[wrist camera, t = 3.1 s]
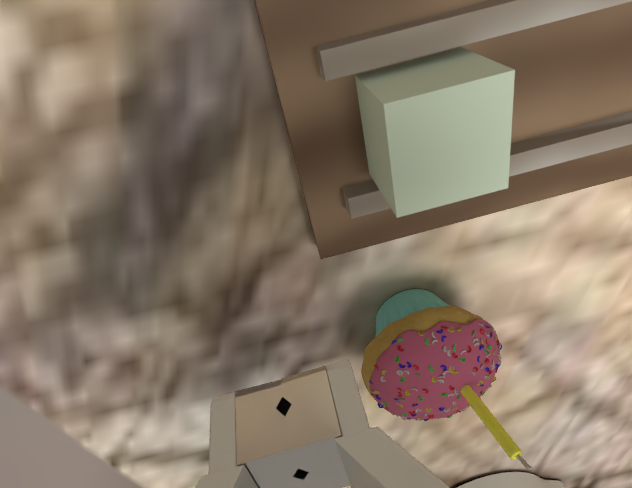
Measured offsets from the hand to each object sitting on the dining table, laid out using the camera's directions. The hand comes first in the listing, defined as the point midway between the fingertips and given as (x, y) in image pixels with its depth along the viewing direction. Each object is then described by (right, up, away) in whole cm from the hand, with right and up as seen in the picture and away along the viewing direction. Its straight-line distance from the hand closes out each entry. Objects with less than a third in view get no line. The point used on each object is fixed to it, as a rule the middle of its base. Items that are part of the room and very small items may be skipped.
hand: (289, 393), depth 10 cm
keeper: (+5, +9, +12) cm, 16 cm away
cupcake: (+7, -2, +22) cm, 23 cm away
